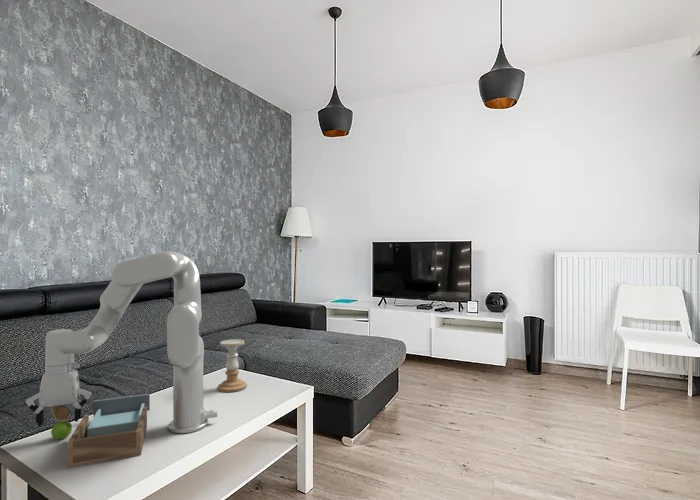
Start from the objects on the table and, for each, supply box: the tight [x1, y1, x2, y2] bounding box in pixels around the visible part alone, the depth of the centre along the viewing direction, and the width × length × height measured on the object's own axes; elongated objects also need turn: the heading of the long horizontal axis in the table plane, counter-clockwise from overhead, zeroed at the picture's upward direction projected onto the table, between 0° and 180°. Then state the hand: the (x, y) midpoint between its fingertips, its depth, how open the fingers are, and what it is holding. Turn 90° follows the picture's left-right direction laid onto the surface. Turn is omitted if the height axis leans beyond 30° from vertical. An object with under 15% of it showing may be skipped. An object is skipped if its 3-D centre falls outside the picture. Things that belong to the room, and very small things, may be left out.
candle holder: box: [217, 338, 248, 393], centre depth 175 cm, size 12×12×20 cm
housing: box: [67, 407, 148, 469], centre depth 123 cm, size 20×18×7 cm
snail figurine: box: [49, 405, 73, 440], centre depth 128 cm, size 5×6×12 cm
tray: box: [87, 393, 151, 438], centre depth 136 cm, size 19×18×6 cm
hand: (59, 422), depth 128 cm, fingers open, 9 cm apart
